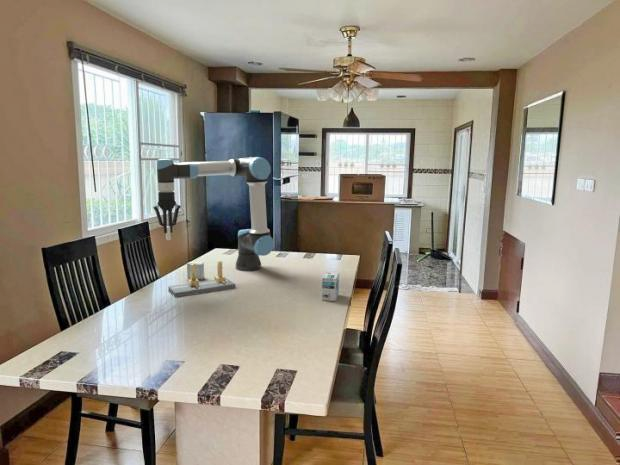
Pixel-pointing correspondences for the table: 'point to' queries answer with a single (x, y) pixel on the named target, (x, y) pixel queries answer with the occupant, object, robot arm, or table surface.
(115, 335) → the table surface
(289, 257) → the table surface
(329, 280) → the light bulb box
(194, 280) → the gold piece
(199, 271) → the medicine box
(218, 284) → the grey lever plate
